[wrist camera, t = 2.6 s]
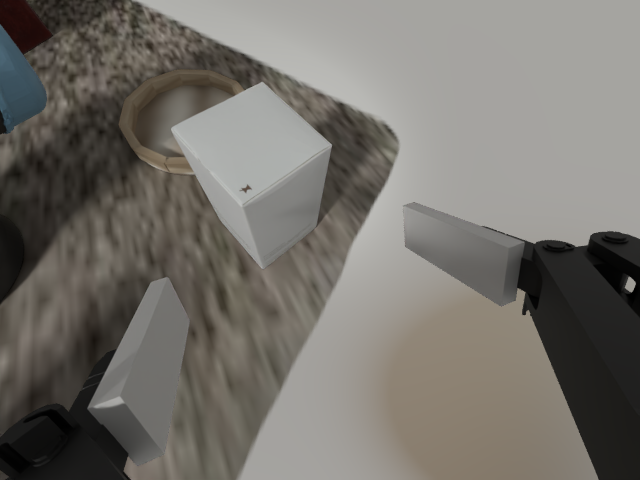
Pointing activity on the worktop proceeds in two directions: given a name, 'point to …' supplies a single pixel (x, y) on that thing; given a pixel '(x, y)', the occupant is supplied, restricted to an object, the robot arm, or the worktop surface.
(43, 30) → the red square bottle
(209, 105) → the tan plate
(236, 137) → the supplement box
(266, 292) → the worktop surface
